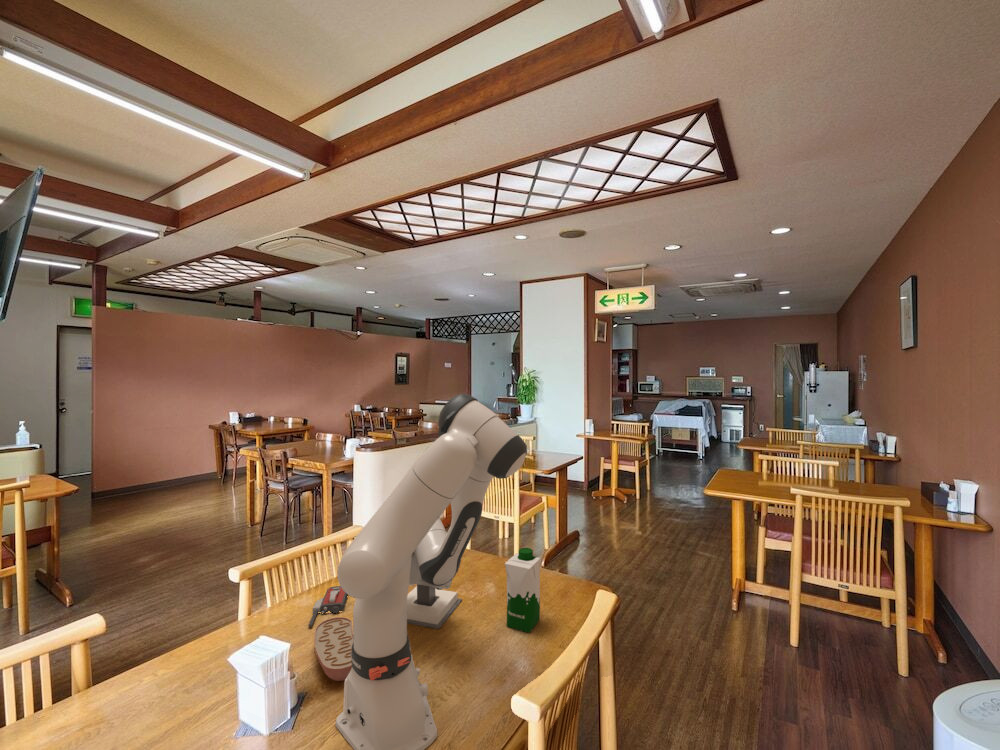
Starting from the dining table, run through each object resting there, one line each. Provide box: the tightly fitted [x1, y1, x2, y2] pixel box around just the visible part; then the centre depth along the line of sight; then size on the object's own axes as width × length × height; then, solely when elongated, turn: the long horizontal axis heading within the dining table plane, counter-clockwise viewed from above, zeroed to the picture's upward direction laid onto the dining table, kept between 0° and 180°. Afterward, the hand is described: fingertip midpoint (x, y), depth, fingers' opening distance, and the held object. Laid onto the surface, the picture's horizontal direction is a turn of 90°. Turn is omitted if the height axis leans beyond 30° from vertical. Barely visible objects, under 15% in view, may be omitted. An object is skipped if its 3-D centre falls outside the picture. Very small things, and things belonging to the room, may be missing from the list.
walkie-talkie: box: [308, 585, 349, 628], centre depth 138 cm, size 9×4×20 cm
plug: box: [416, 584, 436, 607], centre depth 137 cm, size 4×4×10 cm
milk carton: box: [504, 547, 541, 634], centre depth 129 cm, size 9×9×20 cm
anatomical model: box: [313, 616, 354, 682], centre depth 114 cm, size 23×10×5 cm, turn 28°
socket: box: [407, 585, 463, 630], centre depth 137 cm, size 16×16×3 cm
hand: (425, 584), depth 137 cm, fingers open, 8 cm apart
